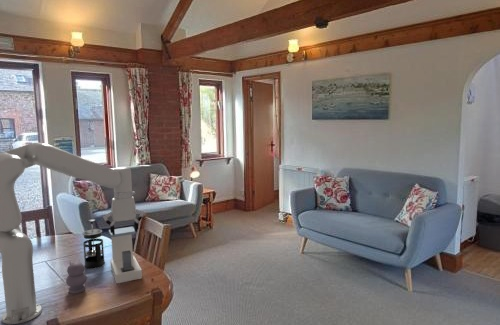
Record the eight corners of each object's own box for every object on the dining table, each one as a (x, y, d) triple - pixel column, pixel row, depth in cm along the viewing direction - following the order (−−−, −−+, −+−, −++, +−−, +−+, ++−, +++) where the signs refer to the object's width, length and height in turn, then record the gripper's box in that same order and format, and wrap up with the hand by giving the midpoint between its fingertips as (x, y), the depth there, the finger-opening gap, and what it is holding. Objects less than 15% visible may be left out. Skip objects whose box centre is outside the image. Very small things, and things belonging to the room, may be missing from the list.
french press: (81, 264, 181) (77, 219, 178) (99, 259, 187) (97, 215, 184) (90, 271, 173) (86, 224, 170) (109, 265, 179) (106, 220, 176)
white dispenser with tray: (142, 278, 165) (139, 237, 163) (116, 283, 160) (113, 241, 158) (134, 263, 182) (132, 225, 179) (110, 267, 177) (108, 229, 174)
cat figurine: (90, 290, 155) (88, 263, 153) (71, 296, 149) (68, 268, 147) (83, 283, 161) (81, 257, 159) (64, 289, 155) (61, 262, 154)
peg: (131, 275, 168) (129, 250, 167) (132, 278, 165) (130, 252, 164) (123, 276, 167) (121, 251, 165) (124, 279, 164) (122, 254, 162)
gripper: (141, 191, 168) (142, 227, 170) (101, 195, 160) (103, 233, 162) (144, 194, 162) (146, 232, 164) (103, 198, 154) (105, 238, 156)
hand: (124, 232), depth 163 cm, fingers open, 9 cm apart
